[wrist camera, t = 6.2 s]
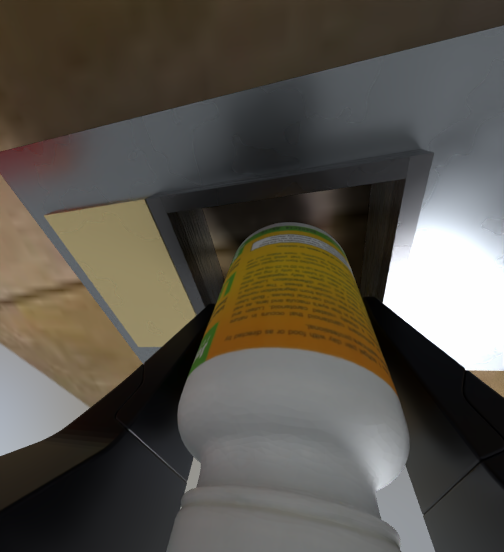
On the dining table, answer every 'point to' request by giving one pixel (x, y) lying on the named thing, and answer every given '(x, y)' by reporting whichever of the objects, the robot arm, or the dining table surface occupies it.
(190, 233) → the grey base block
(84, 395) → the dining table surface
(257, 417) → the supplement bottle
